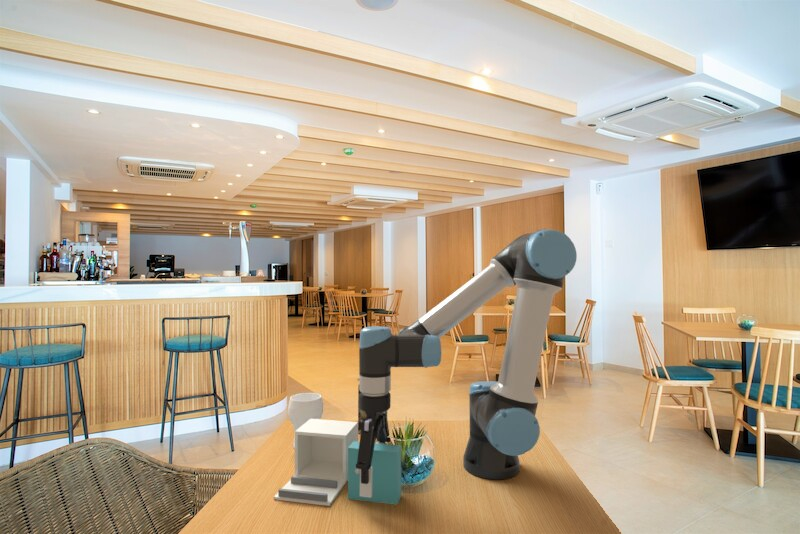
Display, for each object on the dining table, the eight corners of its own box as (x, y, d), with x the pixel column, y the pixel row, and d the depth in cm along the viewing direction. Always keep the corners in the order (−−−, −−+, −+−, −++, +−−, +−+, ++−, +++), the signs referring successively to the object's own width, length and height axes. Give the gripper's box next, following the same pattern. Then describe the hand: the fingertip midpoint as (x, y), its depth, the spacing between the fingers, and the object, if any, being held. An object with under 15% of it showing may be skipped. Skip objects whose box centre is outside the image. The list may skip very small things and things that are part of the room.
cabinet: (357, 465, 119) (357, 422, 119) (329, 506, 98) (329, 453, 98) (310, 461, 122) (310, 418, 122) (273, 499, 101) (273, 448, 101)
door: (401, 495, 103) (401, 445, 103) (396, 506, 98) (396, 453, 98) (353, 490, 105) (353, 441, 106) (347, 500, 101) (347, 449, 101)
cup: (315, 454, 126) (315, 402, 127) (281, 451, 129) (282, 400, 129) (328, 440, 137) (328, 392, 137) (297, 437, 139) (297, 391, 139)
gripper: (373, 378, 115) (373, 458, 115) (342, 406, 91) (341, 507, 91) (401, 380, 114) (400, 460, 114) (376, 409, 90) (375, 512, 89)
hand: (374, 481), depth 102 cm, fingers open, 13 cm apart
